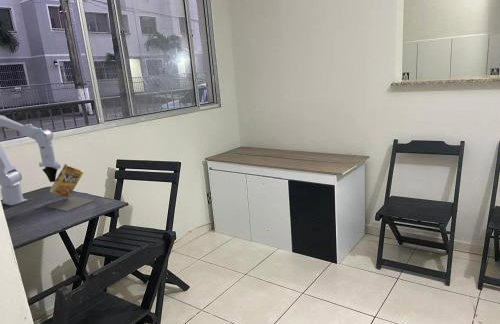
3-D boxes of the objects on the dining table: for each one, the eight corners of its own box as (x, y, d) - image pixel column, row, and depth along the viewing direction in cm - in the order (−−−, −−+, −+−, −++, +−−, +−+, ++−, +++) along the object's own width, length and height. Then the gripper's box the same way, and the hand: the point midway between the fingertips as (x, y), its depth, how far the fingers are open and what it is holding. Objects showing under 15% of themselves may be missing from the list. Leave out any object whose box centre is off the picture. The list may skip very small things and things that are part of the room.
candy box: (51, 193, 178) (67, 165, 179) (48, 190, 181) (65, 163, 182) (68, 199, 184) (84, 172, 185) (65, 196, 187) (81, 169, 188)
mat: (46, 206, 175) (46, 206, 175) (74, 196, 188) (74, 196, 188) (66, 211, 167) (66, 211, 167) (94, 200, 180) (94, 200, 180)
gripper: (64, 154, 177) (69, 180, 181) (46, 152, 185) (51, 177, 188) (50, 157, 171) (55, 185, 175) (32, 155, 179) (38, 181, 182)
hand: (52, 181), depth 181 cm, fingers closed
